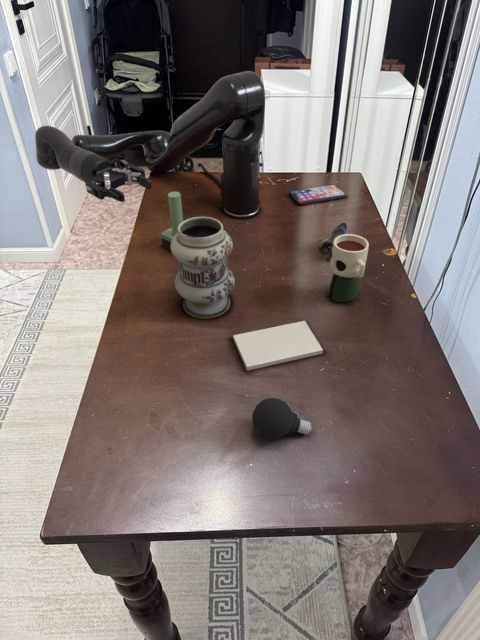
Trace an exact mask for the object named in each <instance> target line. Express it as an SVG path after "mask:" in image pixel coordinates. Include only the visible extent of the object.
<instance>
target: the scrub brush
mask: <svg viewBox="0 0 480 640" xmlns="http://www.w3.org/2000/svg"><path fill="white" fill-rule="evenodd" d="M167 201H168V208H169V217H170V228H168V229H166V230H163V231H162V232H161V233H160V238H161V242H162V247H164V248H166V249H167V250H170V251H171V241H172V239H173V237H174V236H175V235H176V234H177V233H178V232H177V229H178V226H179V224H180V223H182V222H183V221H184V216H183V215H184V214H183V205H182V195H181V192H179V191H170V192H168V193H167Z"/></svg>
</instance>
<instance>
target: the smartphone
mask: <svg viewBox="0 0 480 640" xmlns="http://www.w3.org/2000/svg"><path fill="white" fill-rule="evenodd" d="M288 195H289V196H290V197H291V198H292V199H293V200H294V201H295V203H296V204H297V205H299V206H303V205H309V204H314V203H321V202H328V201H333V200H338V199H339V200H340V199H344V198H347V194H346V193H345V191H343V190H342V189H341V188H340V187H339V186H338V185H337V184H335V183H331V184H326V185H320V186H319V185H318V186H314V187H306V188H302V189H301V188H300V189H293V190H289V192H288Z"/></svg>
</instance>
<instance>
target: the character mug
mask: <svg viewBox="0 0 480 640" xmlns="http://www.w3.org/2000/svg"><path fill="white" fill-rule="evenodd" d="M369 247H370V243H369V241H368V240H367V239H366V238H365V237H363V236H361V235H358V234H353V233H345V234H343V235H340V236H337V237H336V238H335V239H334V243H333V248H332V257H331V259H330V260H329V261H330V262H329V267H330V271H331V273H333V274H332V277H331V280H330V283H329V286H328V296H330V295H331V299H333V300H335V301H336V302H342V303H347V302H350V301H353V300H355V299H356V298H358V296H359V278H363V277H364V274H365V269H366V263H367V258H368V253H369ZM330 293H332V294H330Z"/></svg>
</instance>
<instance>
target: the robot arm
mask: <svg viewBox="0 0 480 640" xmlns="http://www.w3.org/2000/svg"><path fill="white" fill-rule="evenodd" d="M265 111H266V92H265V86H264V84H263V80H262V78H261V77H260V75H258V74H257V72H254V71H251V70H245V71H240V72H236V73H233V74H228V75H225V76H223V77H220V78H219V79H218V80H217V81H216V82H215V83H214V84H213V85H212V86H211V87H210V89H209V90H208V91H207V92H206V93H205V95H204V96H203V97H202V98H201V99H200V100H199V101H197V102H196V103H194V104H193V105H192V106H191V107H190V108H188V109H187V110H185V111H184V112H183V113H181V114H180V115H179V116H178V117H177V118H176V119H175V121H174V123H173V124H172V126H171V129H170V132H169V131H165V130H148V131H147V130H146V131H138V132H137V131H136V132H128V133H121V134H119V133H118V134H107V135H97V134H95V135H93V134H75V135H73V136H72V138H70V137H69V136H68V135H67V134H65V132H63V131H62V130H61V129H59V128H57V127H54V126H51V125H42V126H40V127H38V128H37V129H36V130H35V133H34V141H35V157H36V162H37V164H38V165H39V166H40V167H41V168H43V169H46V170H49V171H56V170H62V171H64V172H66V173H68V174H70V175H73V176H74V177H76V178H77V179H78V180H79V181H81V182H83V183H84V184H85V189H86V192H87V193H88V194H90V195H92V196H93V197H95V198H96V199H98V200H100V201H102V200H105V198H107V199H113V200H115V201H117V202H120V203H124V202H125V201H126V198H125V193H124V192H123V191H121V190H119V189H118V188H119V187H122V186H132V185H139V186H141V187H143V188H145V189H147V190H151V189H152V188H153V187H152V180H151V179H150V178H148V177H146V170H145V169H143V168H141V167H138V166H135V165H133V164H131V163H126V164H125V167H123V168H120V167H117V166H116V165H115V164H114V163H113V162H112V161H113V160H114V159H116V158H117V157H119V156H120V155H121V154H122V153H124V152H126V151H127V150H129V149H130V148H133V147H136V146H142V148H143V153H144V158H145V163H146V166H147V168H148V170H149V171H150V172H152V173H155V174H163V173H168V172H171V171H173V170H174V169H175V168H176V167H178V166H179V165H180V164H181V163H182V162H183V161H184V160H185V159H186V158H187V157H188V156H190V155H191V154H192V153H194V152H196V151H197V150H199V149H201V148H202V147H204V146H205V145H207V144H208V143H209V142H210V141H211V140H212V139H214V137H215V134H216V130H217V129H218V128H220V127H221V126H223V125H225V124H227V123H230V122H232V123H231V124H230V126H229V127H228V128H227V129H226V130H225V131H224V132H223V134H222V137H221V144H222V169H223V170H222V173H221V174H220V179H219V178H218V177H217V176H216V175H214V174H213V173H212V172H211V171H208V169H206V167H205V165H204V164H203V163H202V162H199V163H197V167H198V168H199V167H200V168H201V170H202V171H203V172H204V173H205V174H206V175H208V177H210V178H212V179H213V180H214V181H215V182H216V183H218V185H219V187H220V197H221V209H222V210H223V211H224V214H226V215H227V216H229V217H232V218H236V219H246V218H251V217H254V216H256V215H257V214H258V213H259V211H260V206H261V201H260V158H261V157H260V156H261V155H260V152H261V147H260V146H261V140H262V136H263V135H264V134H263V133H264V127H265V126H264V124H265ZM126 176H127V179H128V180H126ZM133 178H134V179H133Z"/></svg>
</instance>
